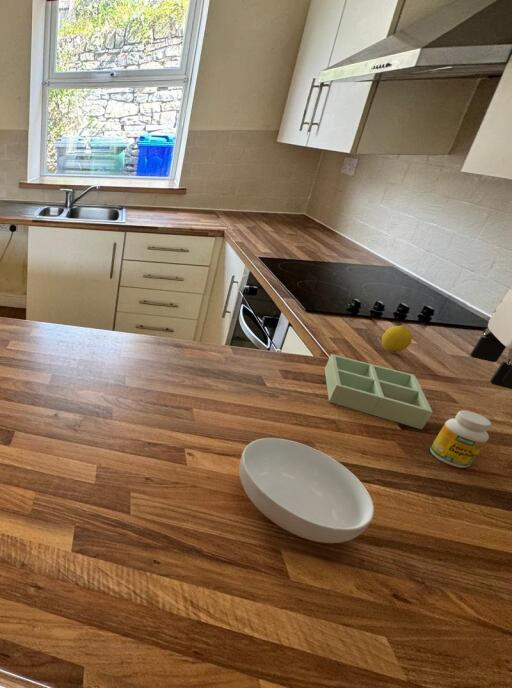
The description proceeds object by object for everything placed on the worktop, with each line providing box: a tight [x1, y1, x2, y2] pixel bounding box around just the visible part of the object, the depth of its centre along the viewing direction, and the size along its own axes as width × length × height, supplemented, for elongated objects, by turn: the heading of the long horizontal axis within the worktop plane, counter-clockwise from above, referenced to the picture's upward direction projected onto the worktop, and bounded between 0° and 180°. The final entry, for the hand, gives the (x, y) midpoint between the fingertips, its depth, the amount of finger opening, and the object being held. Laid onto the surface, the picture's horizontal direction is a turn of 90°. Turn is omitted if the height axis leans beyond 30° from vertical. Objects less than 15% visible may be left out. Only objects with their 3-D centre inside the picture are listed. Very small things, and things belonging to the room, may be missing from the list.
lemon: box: [381, 325, 413, 353], centre depth 108 cm, size 6×6×8 cm
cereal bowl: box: [238, 437, 375, 544], centre depth 63 cm, size 17×17×7 cm
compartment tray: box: [324, 353, 434, 430], centre depth 90 cm, size 15×15×5 cm
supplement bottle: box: [429, 410, 492, 469], centre depth 73 cm, size 5×5×10 cm
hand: (492, 372), depth 68 cm, fingers open, 9 cm apart
